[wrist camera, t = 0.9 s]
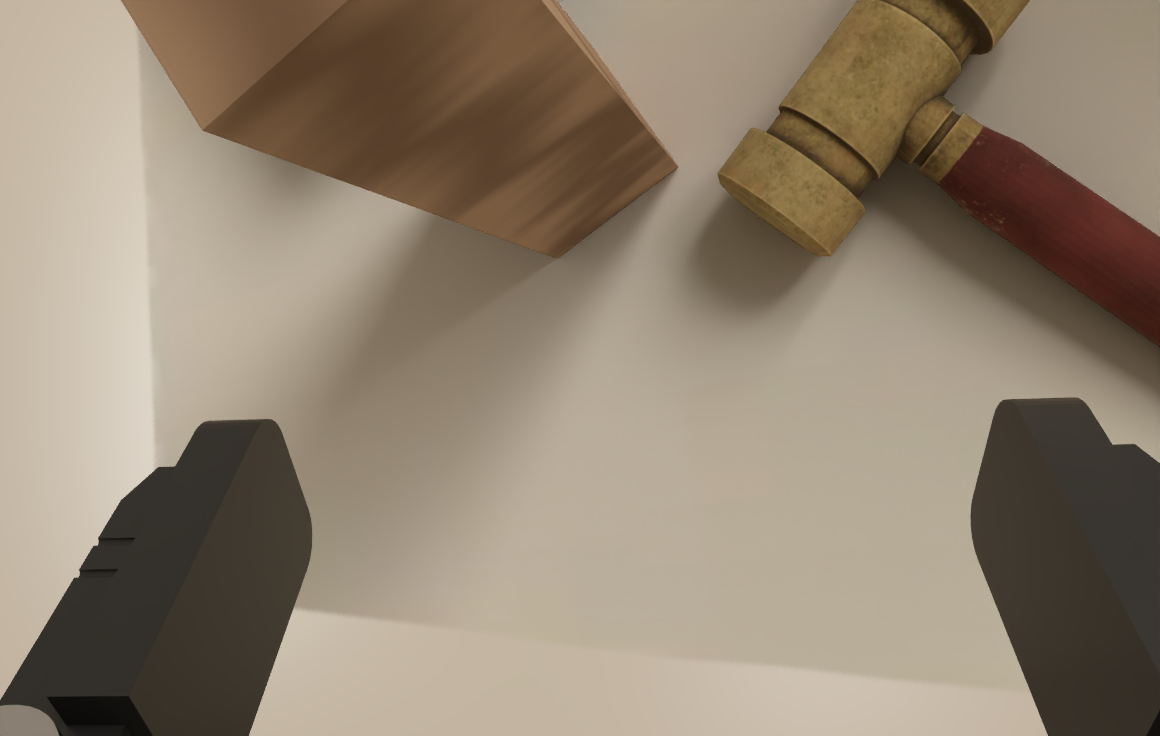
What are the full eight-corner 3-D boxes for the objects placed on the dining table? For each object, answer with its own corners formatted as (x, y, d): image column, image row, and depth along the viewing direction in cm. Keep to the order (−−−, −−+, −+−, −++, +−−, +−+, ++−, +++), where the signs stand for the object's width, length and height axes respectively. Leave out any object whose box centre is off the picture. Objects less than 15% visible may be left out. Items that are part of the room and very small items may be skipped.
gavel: (1594, 317, 24) (1315, 606, 26) (1467, 317, 29) (1236, 563, 30) (919, -118, 27) (708, 168, 29) (900, -56, 31) (719, 188, 33)
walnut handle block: (593, 47, 34) (275, -360, 15) (678, 166, 33) (459, -99, 14) (477, 141, 35) (44, -122, 16) (557, 258, 34) (202, 130, 15)
